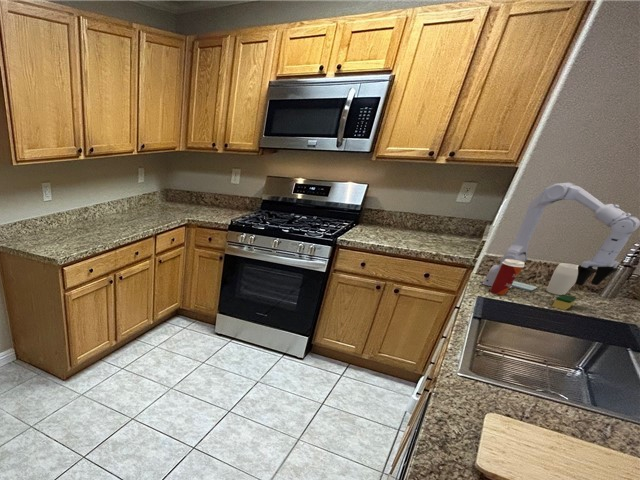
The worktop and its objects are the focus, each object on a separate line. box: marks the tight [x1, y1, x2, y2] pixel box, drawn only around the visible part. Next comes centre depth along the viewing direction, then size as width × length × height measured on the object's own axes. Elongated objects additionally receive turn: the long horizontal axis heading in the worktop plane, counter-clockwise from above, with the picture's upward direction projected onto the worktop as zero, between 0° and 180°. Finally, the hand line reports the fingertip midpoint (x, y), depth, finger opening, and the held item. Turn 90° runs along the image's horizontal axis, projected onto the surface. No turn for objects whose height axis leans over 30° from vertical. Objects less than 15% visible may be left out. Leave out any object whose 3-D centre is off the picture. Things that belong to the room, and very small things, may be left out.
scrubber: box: [551, 294, 577, 311], centre depth 171 cm, size 7×4×4 cm, turn 124°
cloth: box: [511, 280, 538, 292], centre depth 192 cm, size 11×8×1 cm
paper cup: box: [489, 259, 526, 296], centre depth 180 cm, size 8×8×14 cm
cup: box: [546, 262, 579, 296], centre depth 183 cm, size 9×9×12 cm
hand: (586, 284), depth 166 cm, fingers open, 7 cm apart
